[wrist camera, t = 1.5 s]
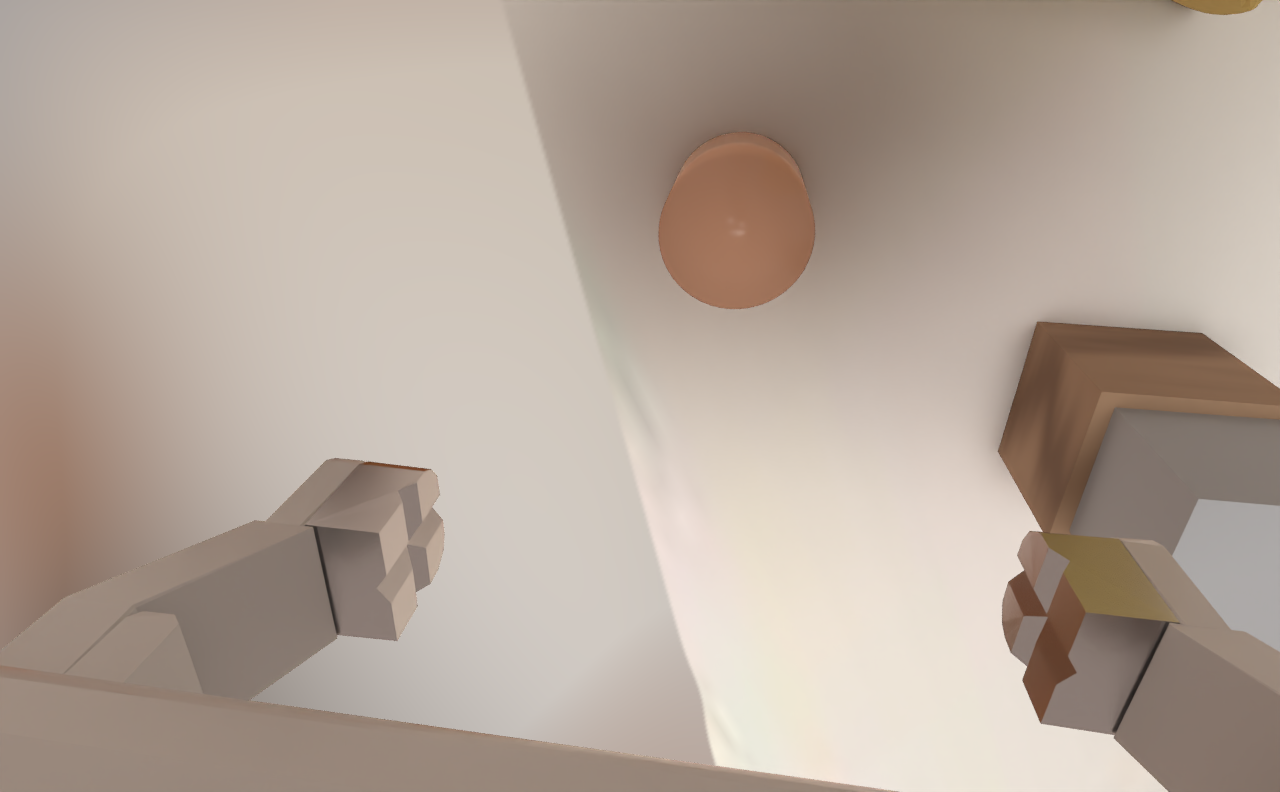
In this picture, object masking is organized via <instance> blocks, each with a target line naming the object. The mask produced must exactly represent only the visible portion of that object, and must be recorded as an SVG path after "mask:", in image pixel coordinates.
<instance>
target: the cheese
mask: <svg viewBox="0 0 1280 792" xmlns="http://www.w3.org/2000/svg"><path fill="white" fill-rule="evenodd" d="M1172 1H1174V2H1176V3H1179V4H1181V5H1183V6H1186V7H1188V8H1191V9H1194V10H1197V11H1200V12H1204V13H1209V14H1219V15H1228V14H1239V13H1243V12H1247V11H1251V10H1253V9H1254V8H1256V7H1257V6H1258V4H1259V3H1260V2H1261V1H1262V0H1172Z"/></svg>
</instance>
